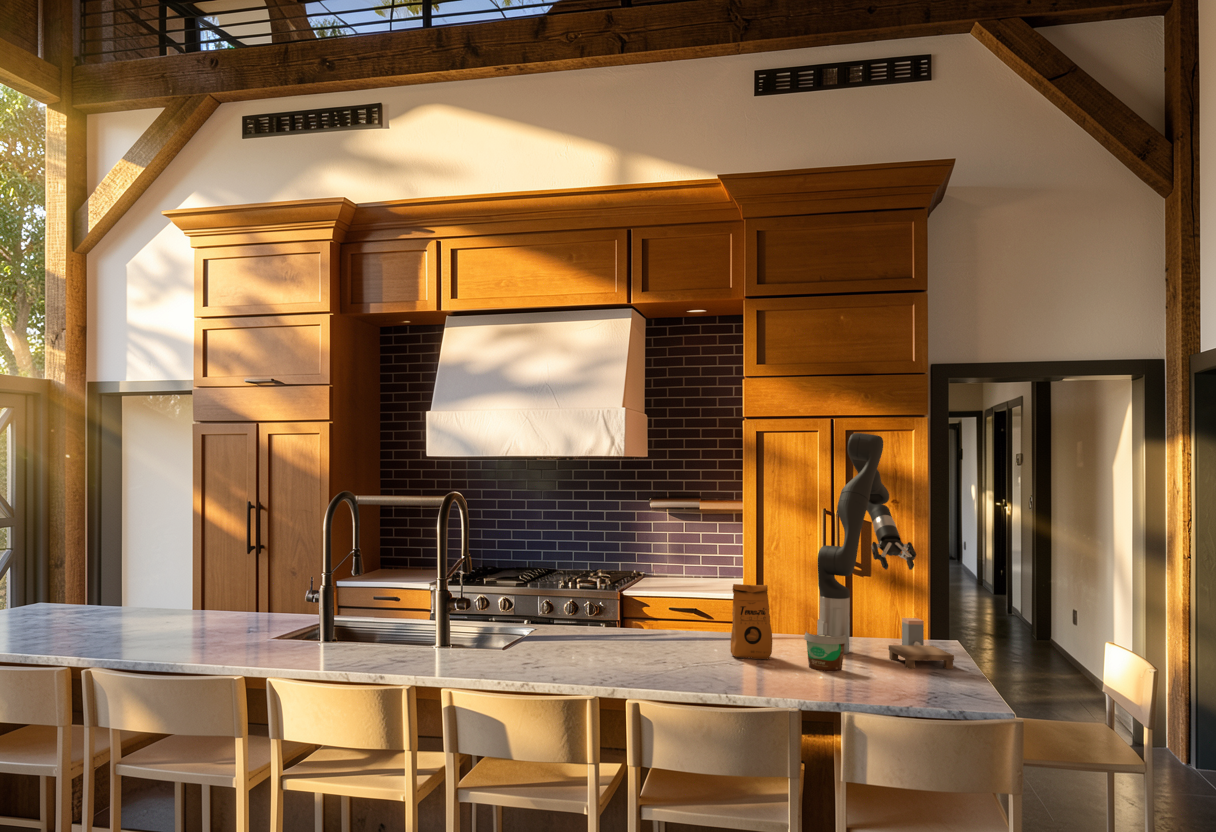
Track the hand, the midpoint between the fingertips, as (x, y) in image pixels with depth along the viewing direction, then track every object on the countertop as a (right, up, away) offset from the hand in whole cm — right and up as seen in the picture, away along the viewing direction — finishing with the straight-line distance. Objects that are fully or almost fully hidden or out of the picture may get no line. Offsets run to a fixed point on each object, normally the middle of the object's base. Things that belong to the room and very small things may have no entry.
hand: (899, 568), depth 290 cm
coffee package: (-55, -22, -29) cm, 66 cm away
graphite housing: (0, -24, -13) cm, 28 cm away
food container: (-37, -22, -44) cm, 61 cm away
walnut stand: (-5, -23, -32) cm, 40 cm away
